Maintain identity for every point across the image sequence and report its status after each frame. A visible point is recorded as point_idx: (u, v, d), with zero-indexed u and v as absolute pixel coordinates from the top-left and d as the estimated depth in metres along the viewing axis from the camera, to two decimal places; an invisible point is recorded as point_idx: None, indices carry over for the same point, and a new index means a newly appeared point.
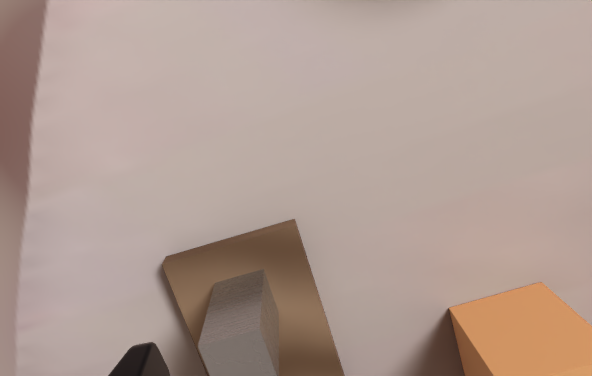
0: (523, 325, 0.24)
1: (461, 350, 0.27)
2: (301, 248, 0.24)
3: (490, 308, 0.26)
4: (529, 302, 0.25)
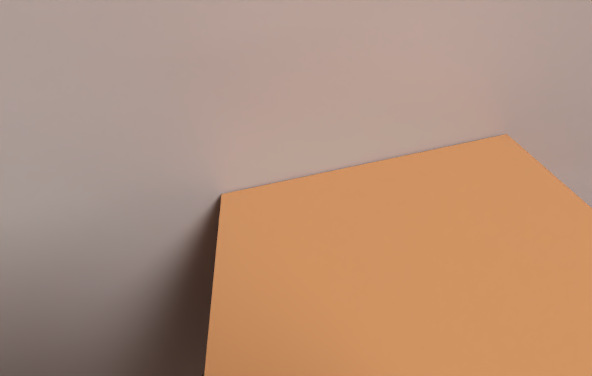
0: (419, 278, 0.06)
1: None
2: None
3: (333, 203, 0.08)
4: (460, 193, 0.07)
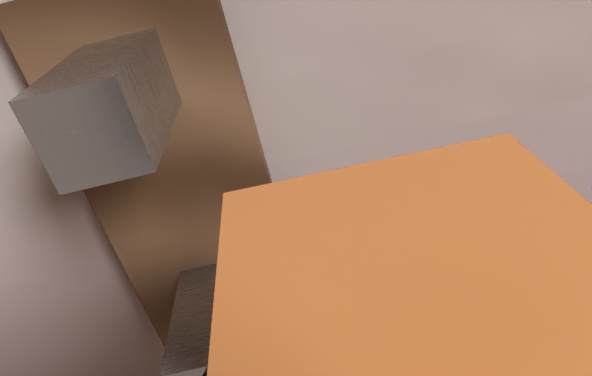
0: (421, 276, 0.06)
1: None
2: None
3: (335, 202, 0.08)
4: (462, 191, 0.07)
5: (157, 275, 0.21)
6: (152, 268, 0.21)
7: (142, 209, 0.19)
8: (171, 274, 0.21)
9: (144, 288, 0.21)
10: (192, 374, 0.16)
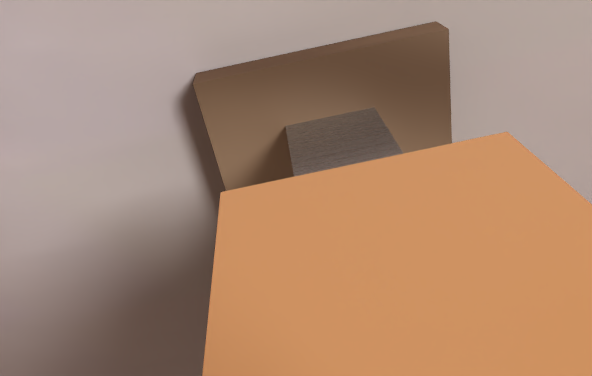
0: (419, 276, 0.06)
1: None
2: (447, 75, 0.14)
3: (332, 201, 0.08)
4: (460, 190, 0.07)
5: None
6: None
7: None
8: None
9: None
10: None
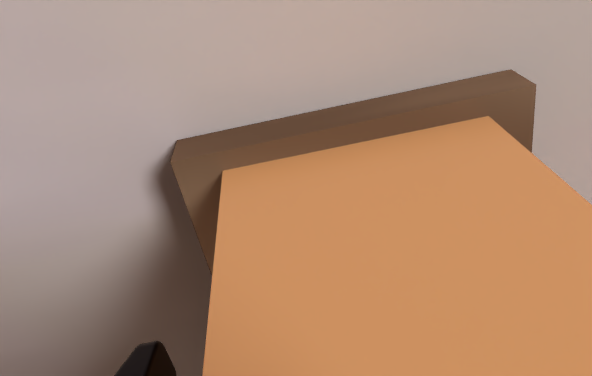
0: (402, 238, 0.07)
1: None
2: (528, 145, 0.10)
3: (326, 177, 0.08)
4: (443, 167, 0.08)
5: None
6: None
7: None
8: None
9: None
10: None
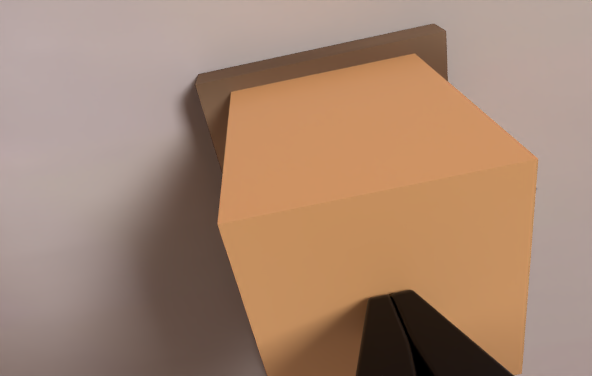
0: (343, 112, 0.11)
1: None
2: (445, 76, 0.14)
3: (301, 90, 0.12)
4: (377, 80, 0.12)
5: None
6: None
7: None
8: None
9: None
10: None
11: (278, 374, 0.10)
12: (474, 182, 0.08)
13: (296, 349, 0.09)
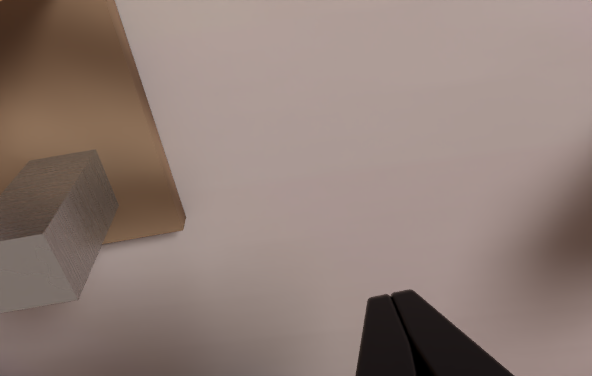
0: None
1: None
2: None
3: None
4: None
5: (3, 163, 0.18)
6: None
7: None
8: (19, 163, 0.19)
9: None
10: None
11: None
12: None
13: None
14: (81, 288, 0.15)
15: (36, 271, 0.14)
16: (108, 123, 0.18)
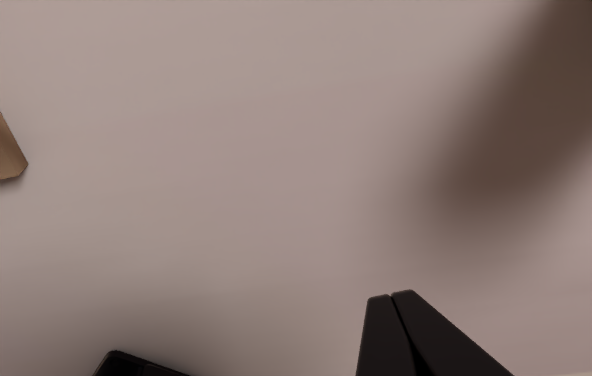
0: None
1: None
2: None
3: None
4: None
5: None
6: None
7: None
8: None
9: None
10: None
11: None
12: None
13: None
14: None
15: None
16: None
